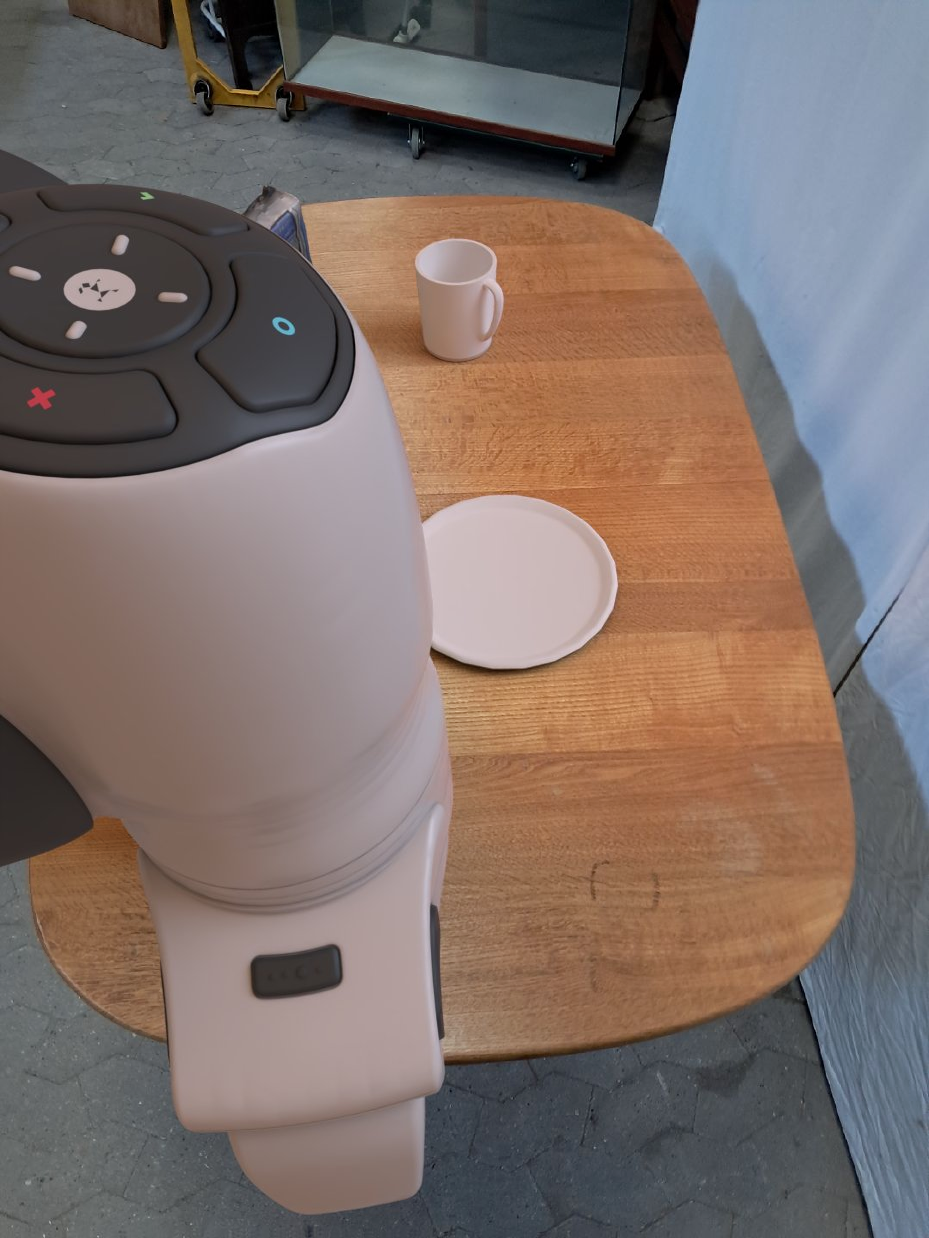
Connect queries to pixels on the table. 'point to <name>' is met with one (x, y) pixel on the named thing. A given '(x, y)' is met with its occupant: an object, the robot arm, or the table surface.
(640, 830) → the table surface
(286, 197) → the radio
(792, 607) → the table surface
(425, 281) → the mug
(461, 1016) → the table surface
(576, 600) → the plate
